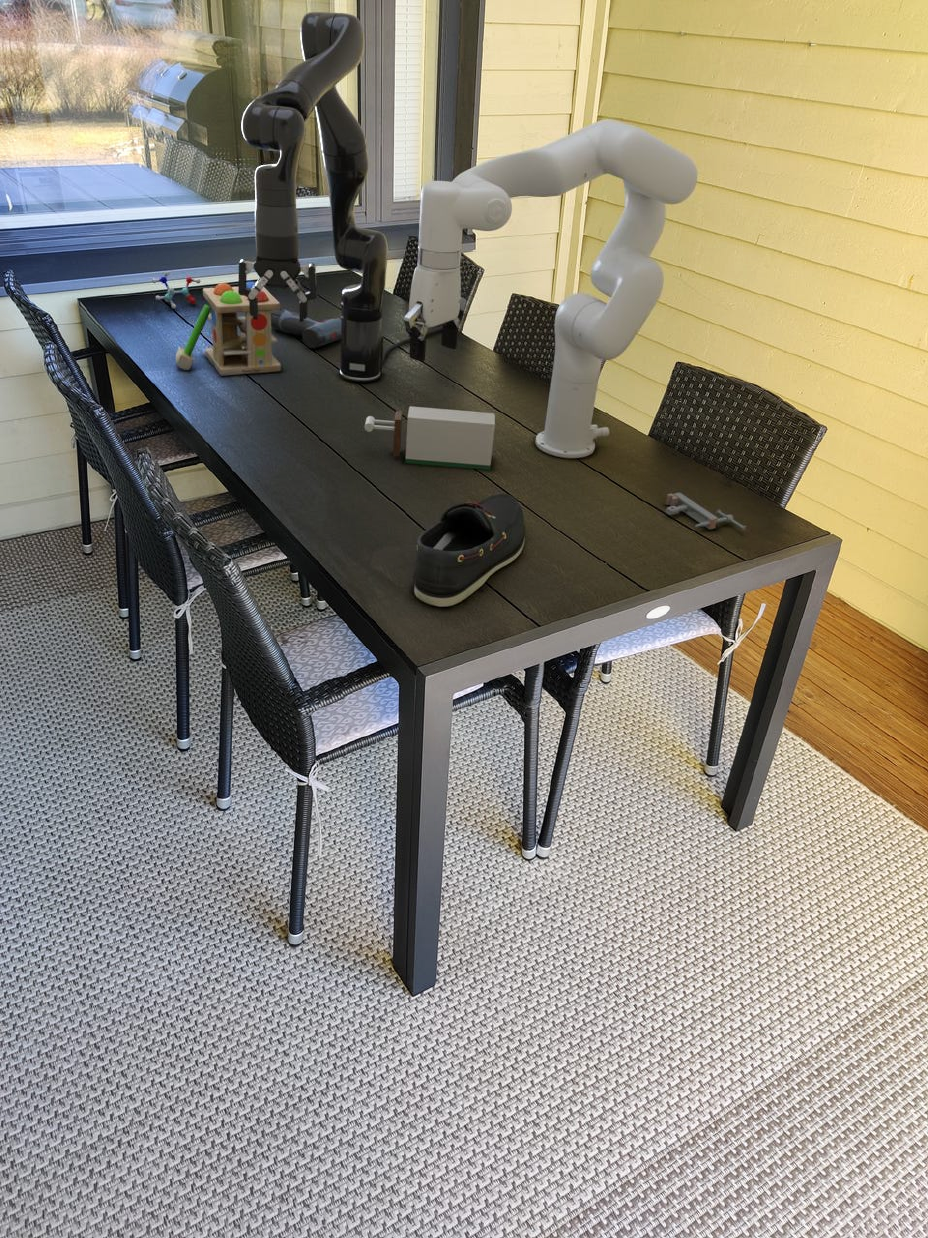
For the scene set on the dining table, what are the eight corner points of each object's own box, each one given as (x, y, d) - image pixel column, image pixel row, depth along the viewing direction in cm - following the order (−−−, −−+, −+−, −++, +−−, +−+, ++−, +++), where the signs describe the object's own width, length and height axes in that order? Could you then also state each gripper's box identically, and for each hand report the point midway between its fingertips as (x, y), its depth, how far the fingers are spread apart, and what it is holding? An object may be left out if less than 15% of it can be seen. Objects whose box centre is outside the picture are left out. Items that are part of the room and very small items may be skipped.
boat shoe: (551, 538, 175) (557, 484, 170) (450, 614, 151) (453, 554, 146) (489, 517, 181) (493, 465, 175) (383, 588, 157) (383, 530, 151)
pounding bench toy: (183, 379, 220) (176, 299, 210) (169, 357, 231) (162, 280, 221) (282, 371, 230) (280, 294, 220) (264, 350, 240) (262, 276, 230)
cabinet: (405, 463, 195) (407, 417, 189) (407, 451, 200) (409, 406, 194) (490, 470, 196) (494, 424, 190) (489, 458, 200) (494, 413, 195)
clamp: (655, 496, 187) (694, 487, 191) (652, 506, 188) (692, 497, 192) (708, 532, 176) (748, 523, 181) (705, 543, 177) (745, 533, 182)
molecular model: (184, 300, 255) (170, 262, 254) (156, 313, 259) (142, 276, 258) (209, 302, 266) (196, 266, 265) (181, 315, 270) (168, 279, 268)
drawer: (363, 454, 195) (364, 416, 190) (365, 445, 198) (366, 408, 194) (472, 463, 195) (475, 425, 191) (472, 453, 199) (475, 417, 195)
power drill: (305, 316, 264) (364, 334, 256) (257, 332, 251) (318, 351, 243) (305, 296, 261) (365, 314, 253) (257, 311, 248) (318, 330, 240)
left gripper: (317, 227, 179) (317, 315, 189) (238, 221, 178) (242, 311, 187) (315, 237, 173) (316, 328, 182) (233, 231, 172) (238, 323, 181)
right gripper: (450, 245, 180) (444, 337, 190) (391, 261, 168) (388, 359, 178) (484, 254, 177) (476, 347, 186) (426, 271, 165) (420, 370, 174)
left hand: (278, 319), depth 185 cm, fingers open, 8 cm apart
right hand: (433, 353), depth 182 cm, fingers open, 9 cm apart
